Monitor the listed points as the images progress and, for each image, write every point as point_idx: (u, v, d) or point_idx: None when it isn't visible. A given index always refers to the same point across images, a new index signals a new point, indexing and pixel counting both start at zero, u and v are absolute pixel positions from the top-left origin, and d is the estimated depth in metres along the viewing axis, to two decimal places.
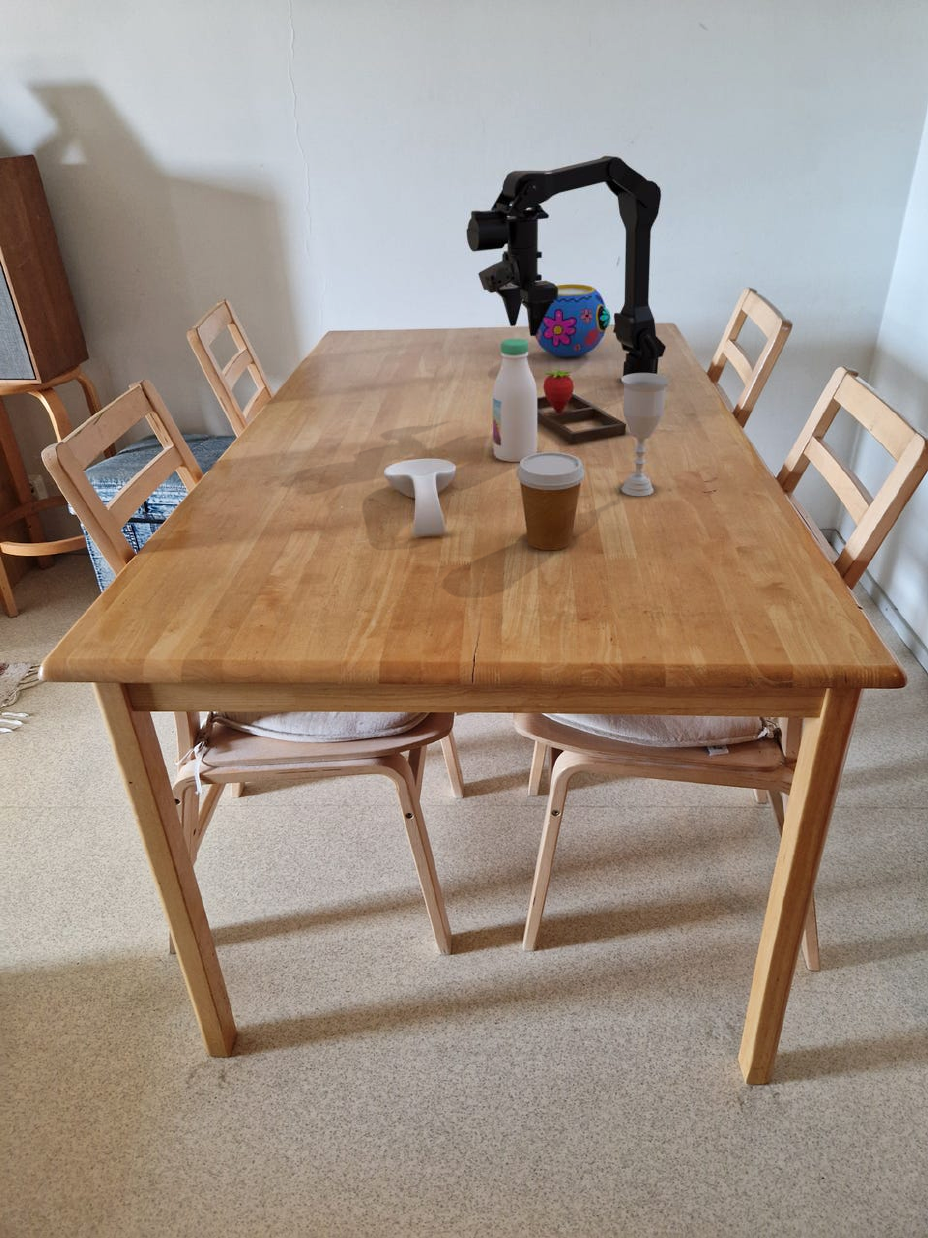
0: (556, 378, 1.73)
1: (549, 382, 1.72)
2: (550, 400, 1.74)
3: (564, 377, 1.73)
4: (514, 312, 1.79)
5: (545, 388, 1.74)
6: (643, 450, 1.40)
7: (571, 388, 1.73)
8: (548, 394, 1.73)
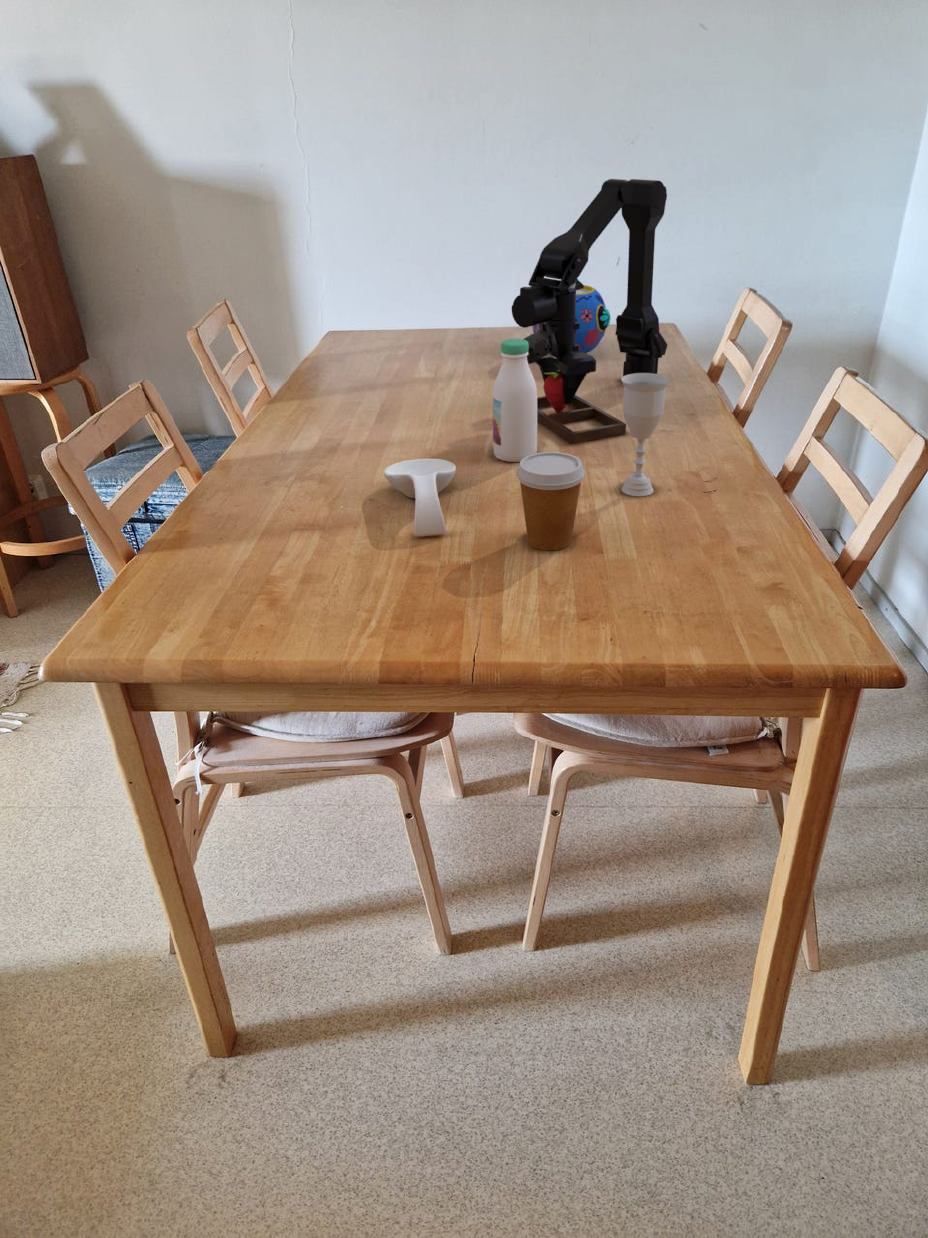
0: (556, 378, 1.73)
1: (549, 382, 1.72)
2: (550, 400, 1.74)
3: None
4: None
5: (545, 388, 1.74)
6: (643, 450, 1.40)
7: None
8: (548, 394, 1.73)
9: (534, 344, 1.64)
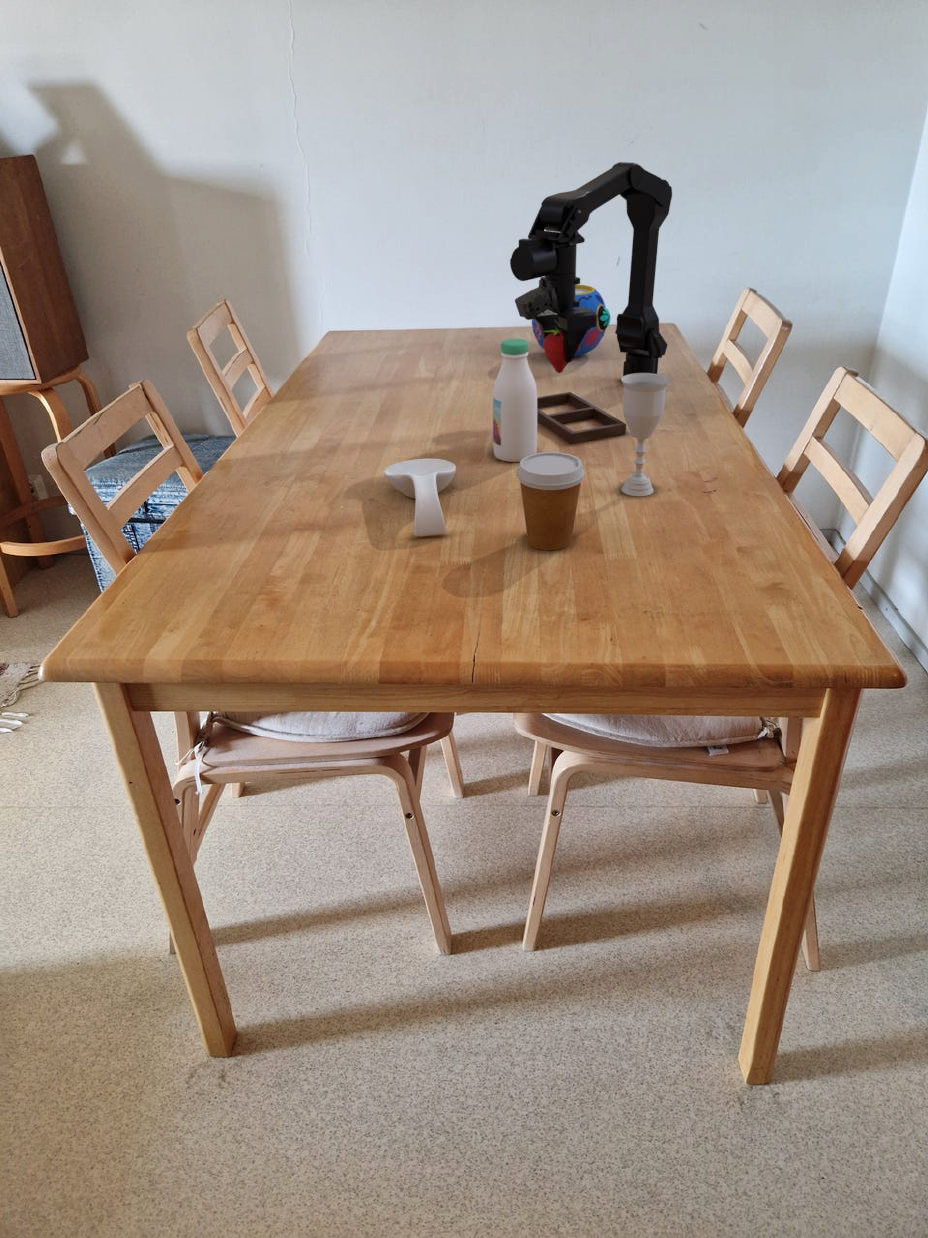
0: (556, 335, 1.69)
1: (549, 340, 1.69)
2: (550, 358, 1.70)
3: None
4: None
5: (545, 346, 1.70)
6: (643, 450, 1.40)
7: None
8: (548, 352, 1.70)
9: (534, 299, 1.60)
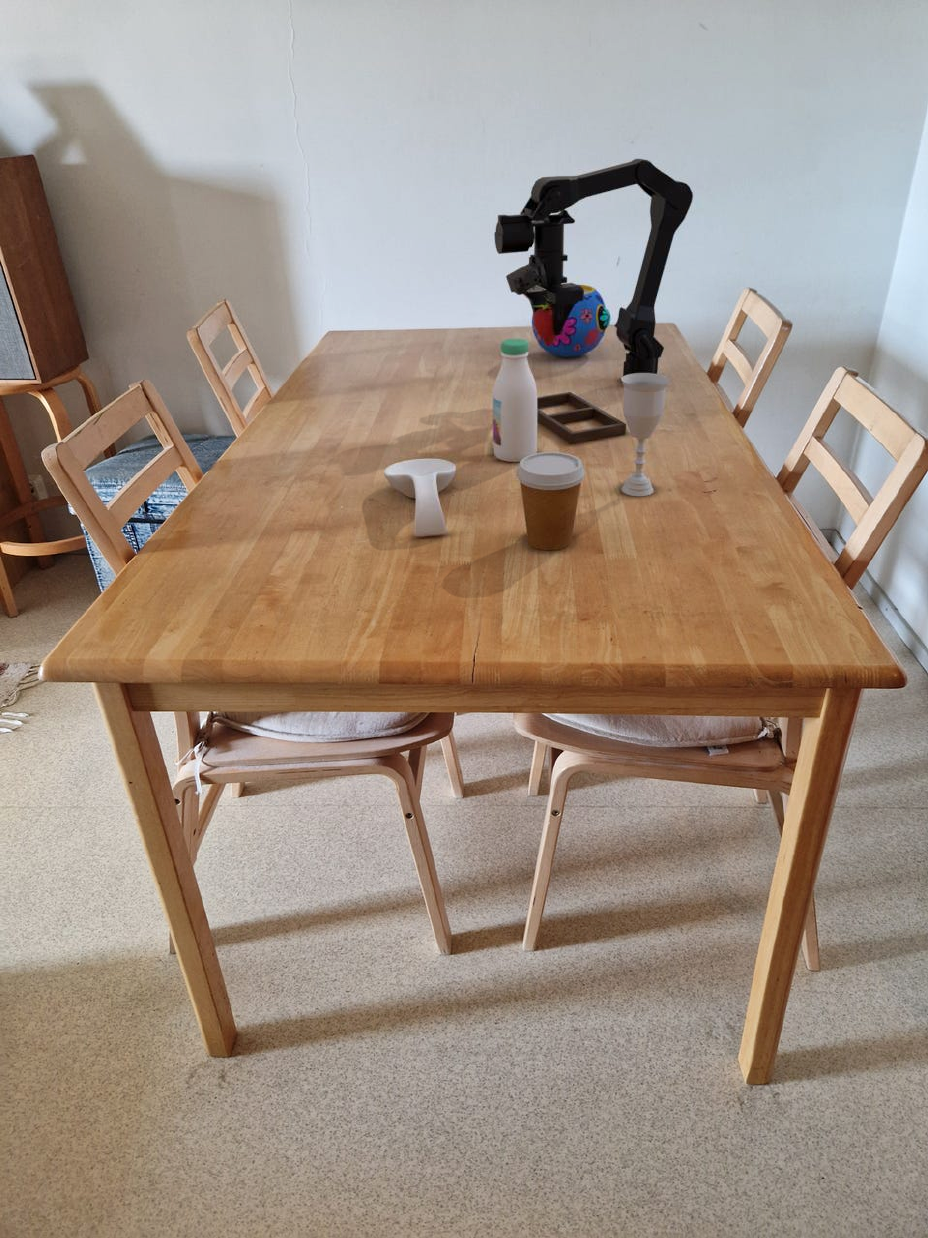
0: (545, 310, 1.79)
1: (539, 314, 1.79)
2: (540, 332, 1.81)
3: None
4: None
5: (535, 320, 1.80)
6: (643, 450, 1.40)
7: None
8: (538, 326, 1.80)
9: (524, 274, 1.71)
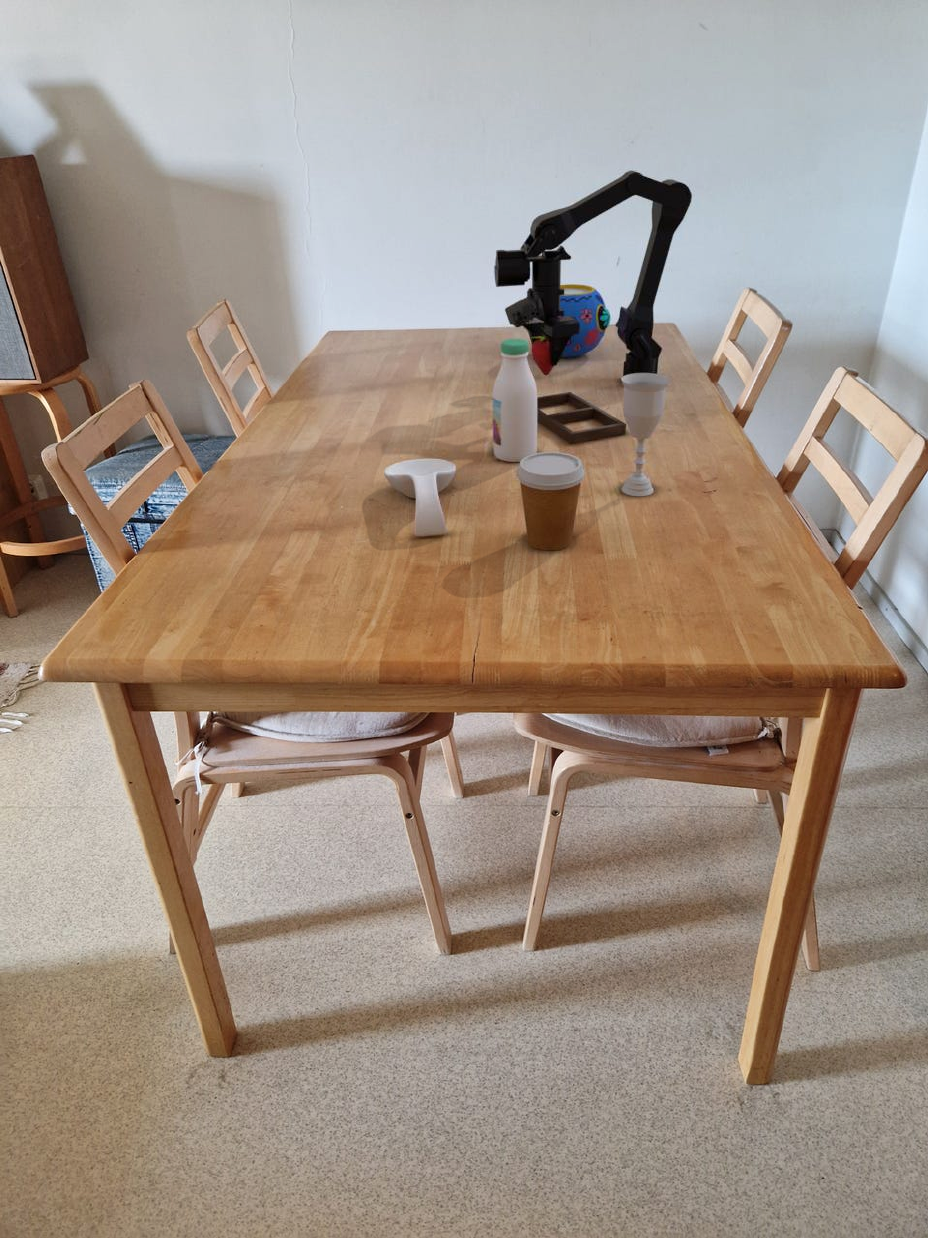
0: (543, 341, 1.85)
1: (537, 345, 1.85)
2: (537, 362, 1.87)
3: None
4: None
5: (533, 351, 1.86)
6: (643, 450, 1.40)
7: None
8: (535, 356, 1.86)
9: (522, 308, 1.77)
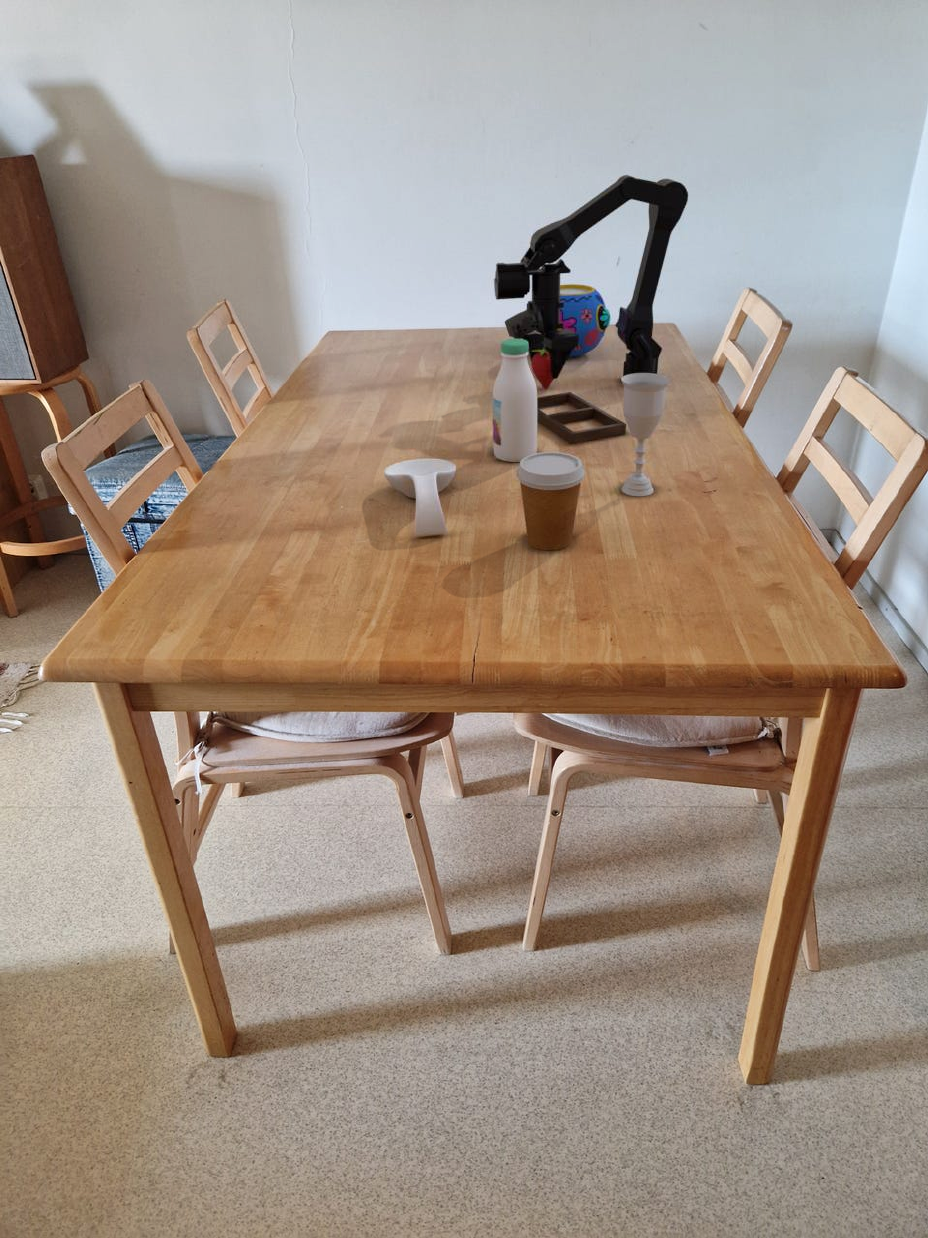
0: (543, 355, 1.87)
1: (537, 359, 1.86)
2: (537, 376, 1.88)
3: None
4: None
5: (533, 364, 1.88)
6: (643, 450, 1.40)
7: None
8: (535, 370, 1.87)
9: (521, 321, 1.78)
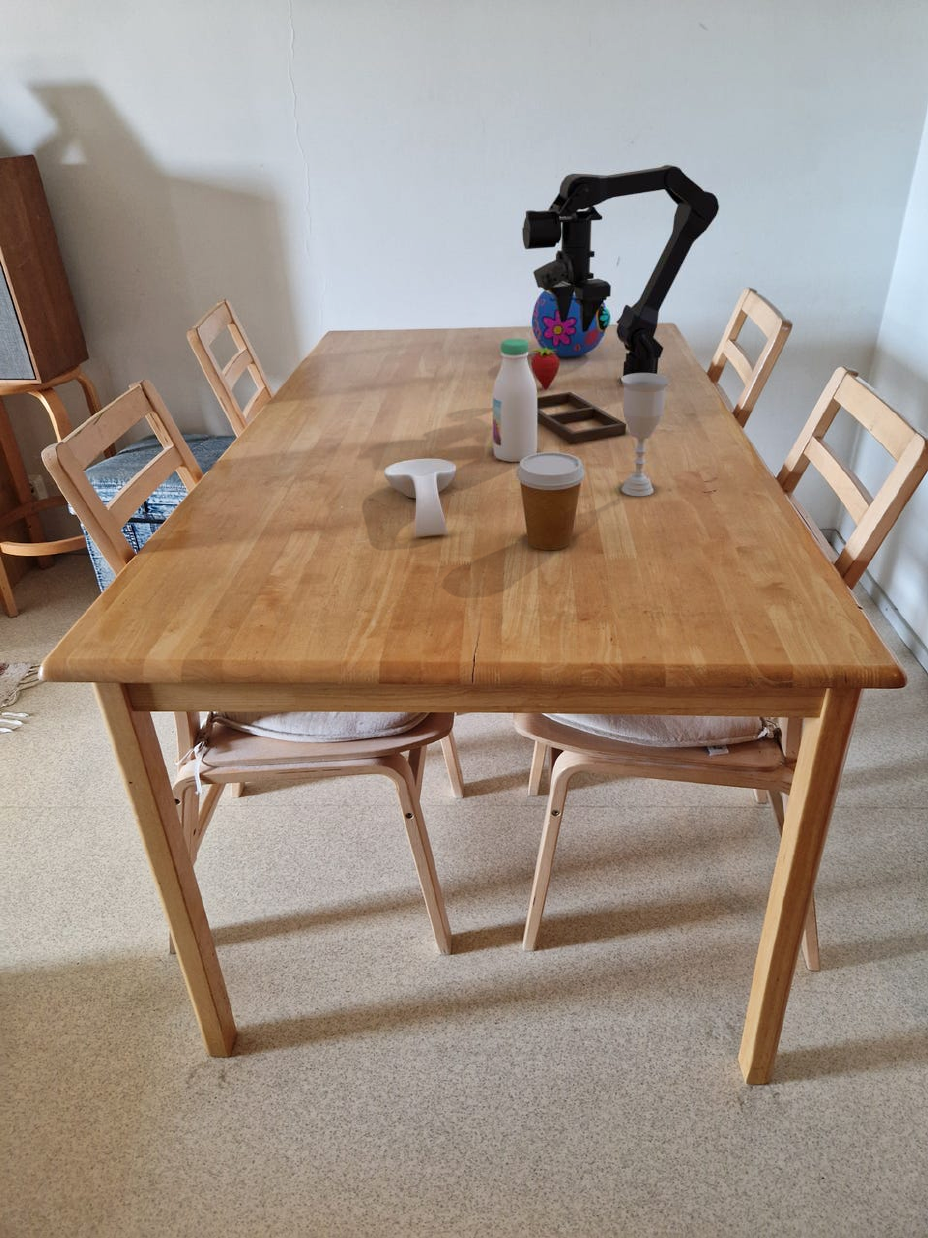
0: (543, 355, 1.87)
1: (537, 359, 1.86)
2: (537, 376, 1.88)
3: (550, 354, 1.87)
4: (565, 309, 1.86)
5: (533, 364, 1.88)
6: (643, 450, 1.40)
7: (557, 364, 1.87)
8: (535, 370, 1.87)
9: (551, 270, 1.72)
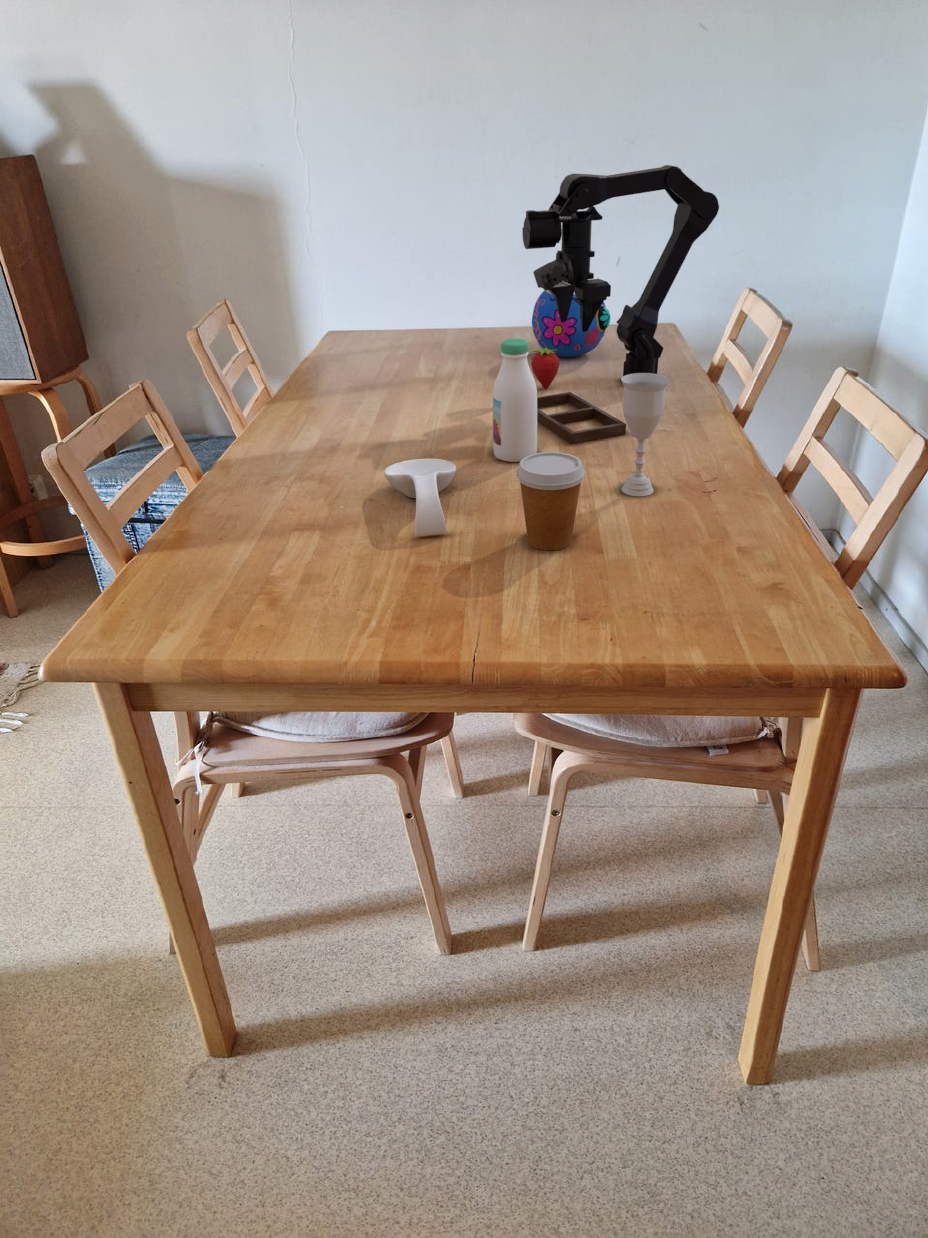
0: (543, 355, 1.87)
1: (537, 359, 1.86)
2: (537, 376, 1.88)
3: (550, 354, 1.87)
4: (565, 309, 1.86)
5: (533, 364, 1.88)
6: (643, 450, 1.40)
7: (557, 364, 1.87)
8: (535, 370, 1.87)
9: (552, 270, 1.72)
